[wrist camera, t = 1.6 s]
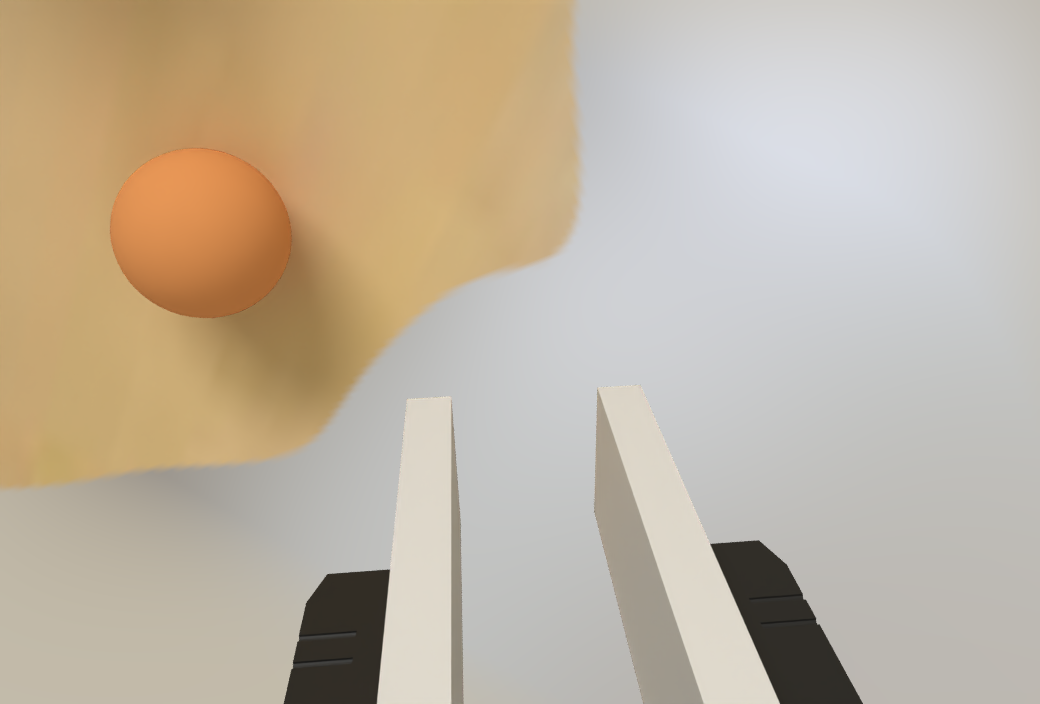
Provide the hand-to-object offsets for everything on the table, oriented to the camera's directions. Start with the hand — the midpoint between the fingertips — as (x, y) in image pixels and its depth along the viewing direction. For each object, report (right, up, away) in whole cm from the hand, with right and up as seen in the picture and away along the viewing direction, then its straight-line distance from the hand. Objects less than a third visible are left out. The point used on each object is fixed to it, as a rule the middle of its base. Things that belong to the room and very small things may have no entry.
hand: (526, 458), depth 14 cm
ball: (-10, +6, +12) cm, 17 cm away
